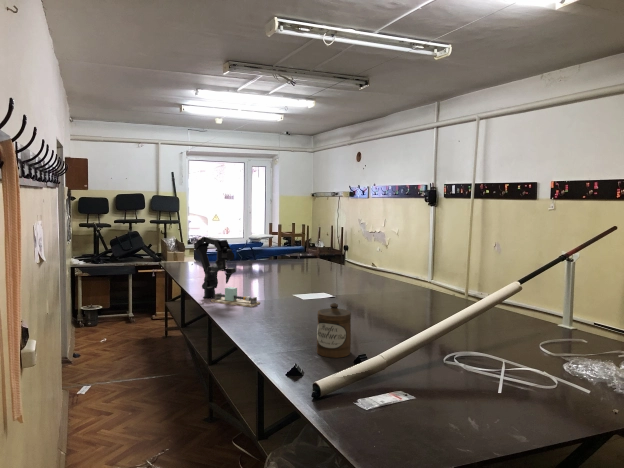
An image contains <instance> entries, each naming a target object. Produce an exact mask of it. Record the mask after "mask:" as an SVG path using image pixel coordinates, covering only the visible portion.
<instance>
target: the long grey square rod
mask: <svg viewBox="0 0 624 468" xmlns="http://www.w3.org/2000/svg"><path fill="white" fill-rule="evenodd" d="M218 296H219V297H225V293H224V294H223V293H221V294H218ZM234 298H235V299H241V300H246V301H250V299H251V298H252V296H249V295H248V296H239V295H237V296H234ZM254 301H255V300H254Z"/></svg>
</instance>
